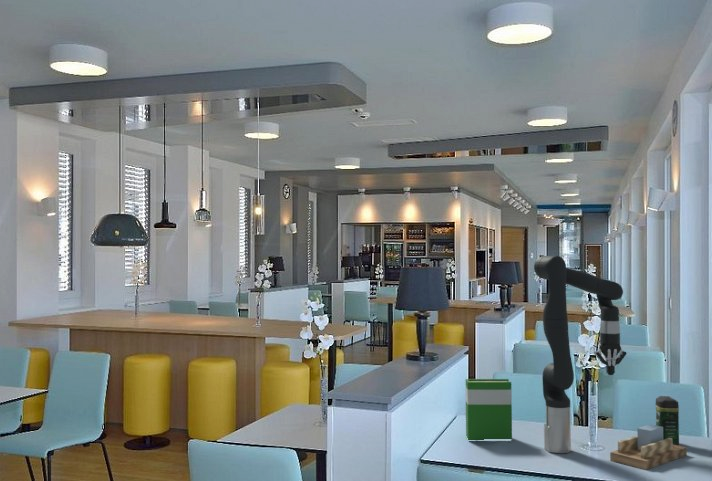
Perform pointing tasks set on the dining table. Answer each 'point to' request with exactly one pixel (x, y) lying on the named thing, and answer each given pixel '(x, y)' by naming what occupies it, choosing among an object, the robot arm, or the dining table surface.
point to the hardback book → (488, 409)
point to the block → (649, 435)
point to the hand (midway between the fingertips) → (610, 374)
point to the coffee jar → (668, 417)
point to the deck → (646, 453)
